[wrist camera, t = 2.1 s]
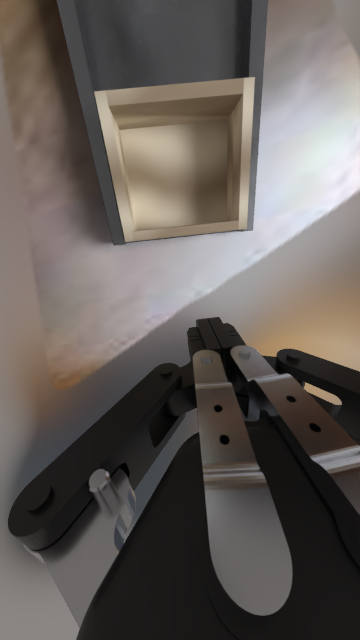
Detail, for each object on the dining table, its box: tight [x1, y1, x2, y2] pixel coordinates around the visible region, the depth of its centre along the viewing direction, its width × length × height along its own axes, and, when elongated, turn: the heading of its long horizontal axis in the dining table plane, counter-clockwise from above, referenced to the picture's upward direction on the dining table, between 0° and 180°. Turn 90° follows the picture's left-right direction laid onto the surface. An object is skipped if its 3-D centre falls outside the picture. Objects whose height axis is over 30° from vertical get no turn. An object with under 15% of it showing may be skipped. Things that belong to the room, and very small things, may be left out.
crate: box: [94, 77, 255, 242], centre depth 18 cm, size 10×12×5 cm
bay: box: [57, 0, 268, 245], centre depth 17 cm, size 21×15×3 cm
